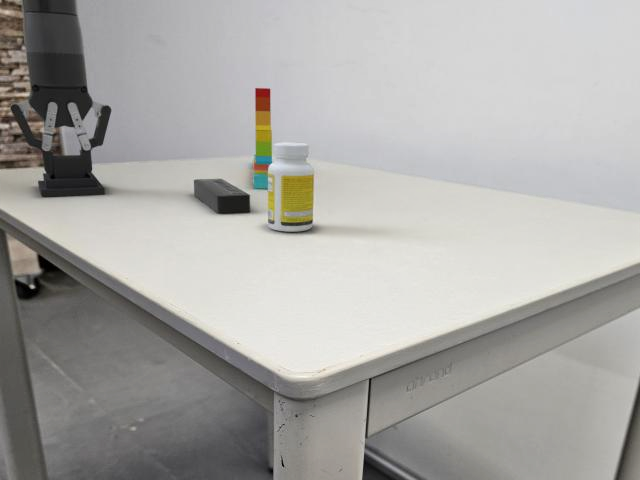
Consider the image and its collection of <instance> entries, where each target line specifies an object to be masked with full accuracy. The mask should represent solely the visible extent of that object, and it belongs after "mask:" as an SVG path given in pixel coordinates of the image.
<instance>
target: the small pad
mask: <svg viewBox="0 0 640 480" xmlns="http://www.w3.org/2000/svg"><path fill="white" fill-rule="evenodd" d="M53 157H54V158H53V161H54V169H55V178H56V179H75V178H85V172H84V162H83V158H82V157H81V156H80V154H68V155H67V154H63V155H60V154H59V155H58V154H57V155H53Z"/></svg>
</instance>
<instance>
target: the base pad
mask: <svg viewBox="0 0 640 480" xmlns="http://www.w3.org/2000/svg"><path fill="white" fill-rule="evenodd" d="M42 177H43V180H38V181H37V185H38V189H39V192H40V196H41V198H47V197H48V198H49V197H50V198H52V197H70V196H71V197H73V196H96V195H97V196H98V195H105V194H106V192H105V187H104V185H103V184H102V183H101V182H100V181H99V180H98V178H97V177H96V176H95V175H94V173H93V171H92V172H88V176H87V177H85V178H75V179H56V178H55V177H52V178H51V177H50V173H46V172H44V173H42Z"/></svg>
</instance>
